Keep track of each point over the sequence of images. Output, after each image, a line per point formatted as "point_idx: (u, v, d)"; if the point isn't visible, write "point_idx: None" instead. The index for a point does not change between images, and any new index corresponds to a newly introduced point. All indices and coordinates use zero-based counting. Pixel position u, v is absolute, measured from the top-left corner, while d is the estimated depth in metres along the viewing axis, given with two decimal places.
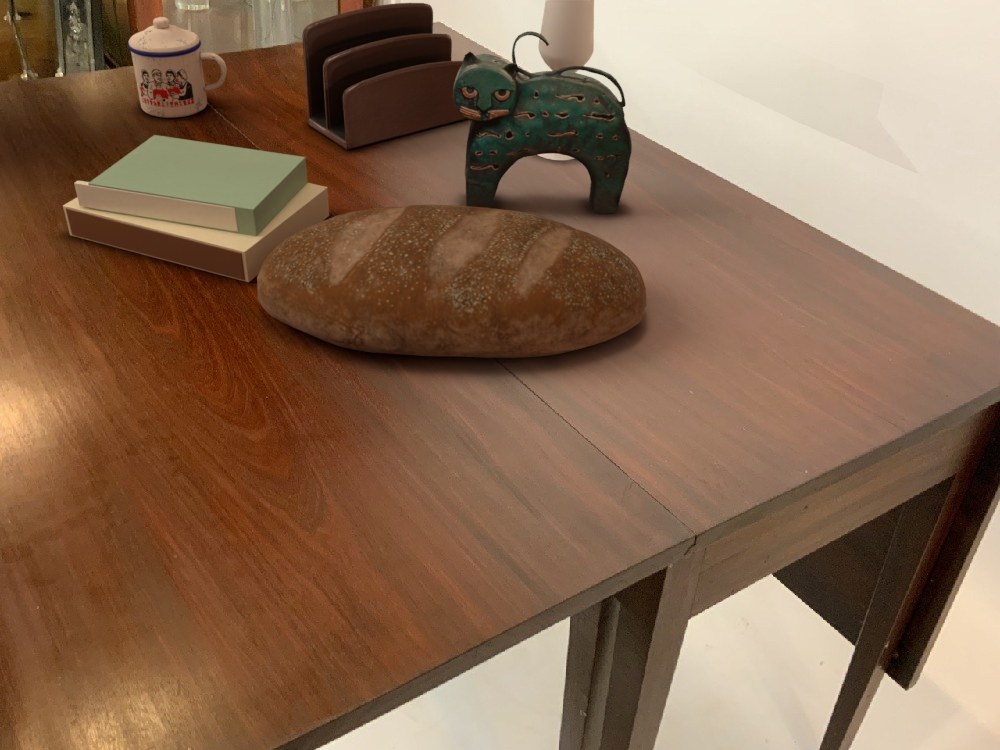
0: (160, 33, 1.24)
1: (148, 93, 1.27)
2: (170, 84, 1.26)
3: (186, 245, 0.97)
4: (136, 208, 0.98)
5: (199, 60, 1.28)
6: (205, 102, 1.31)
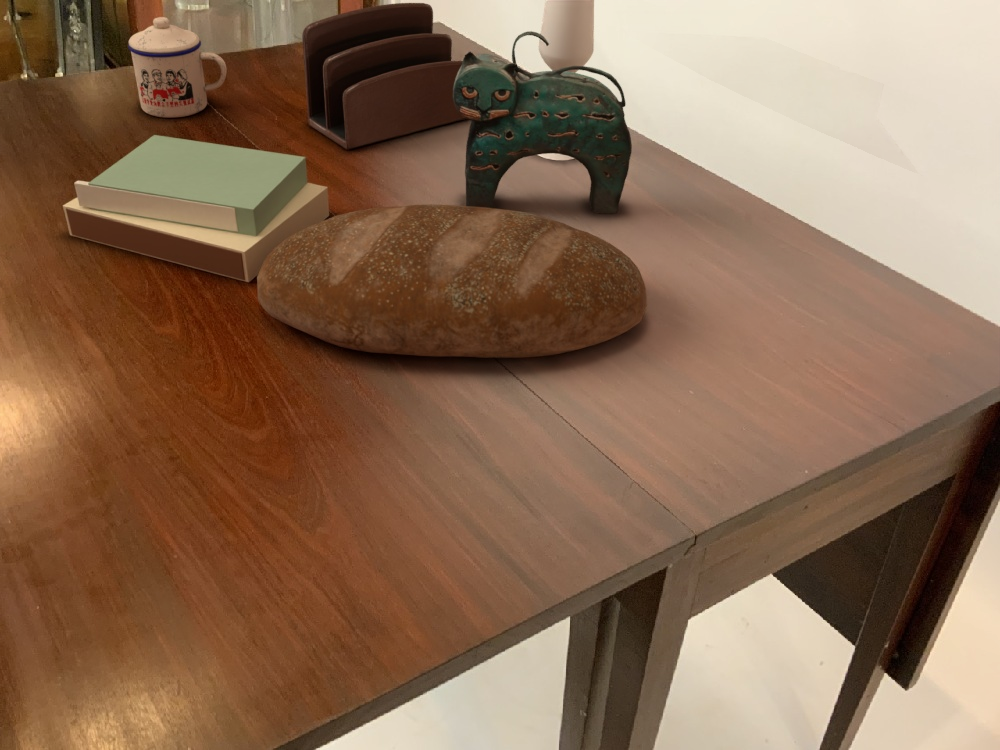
0: (160, 33, 1.24)
1: (148, 93, 1.27)
2: (170, 84, 1.26)
3: (186, 245, 0.97)
4: (136, 208, 0.98)
5: (199, 60, 1.28)
6: (205, 102, 1.31)
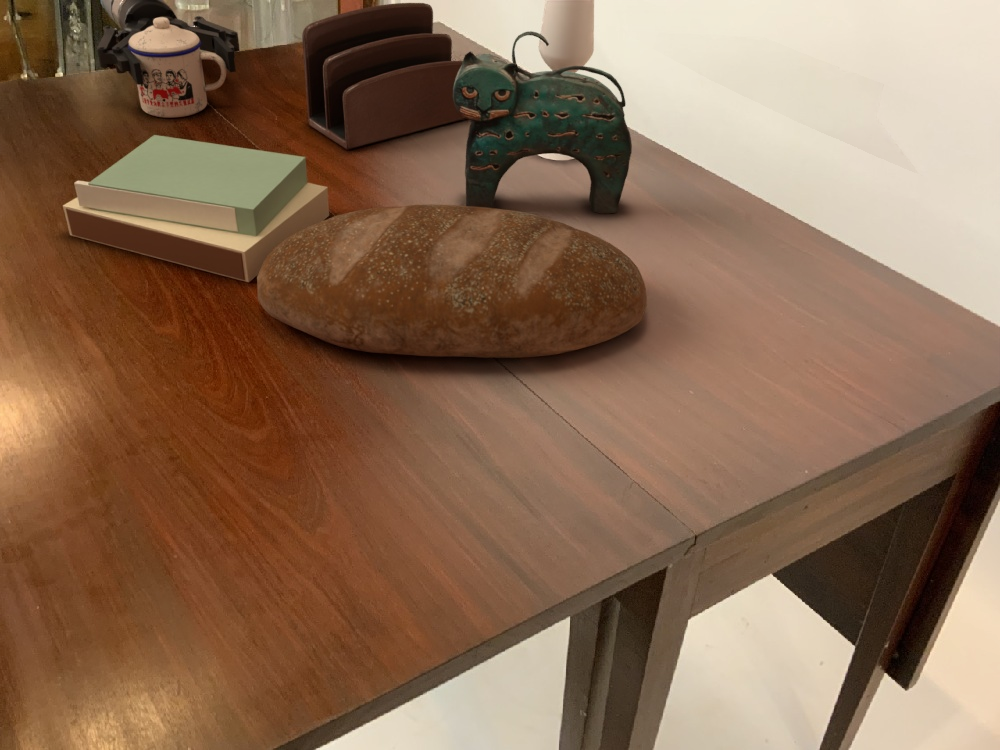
0: (160, 33, 1.24)
1: (148, 93, 1.27)
2: (170, 84, 1.26)
3: (186, 245, 0.97)
4: (136, 208, 0.98)
5: (199, 60, 1.28)
6: (205, 102, 1.31)
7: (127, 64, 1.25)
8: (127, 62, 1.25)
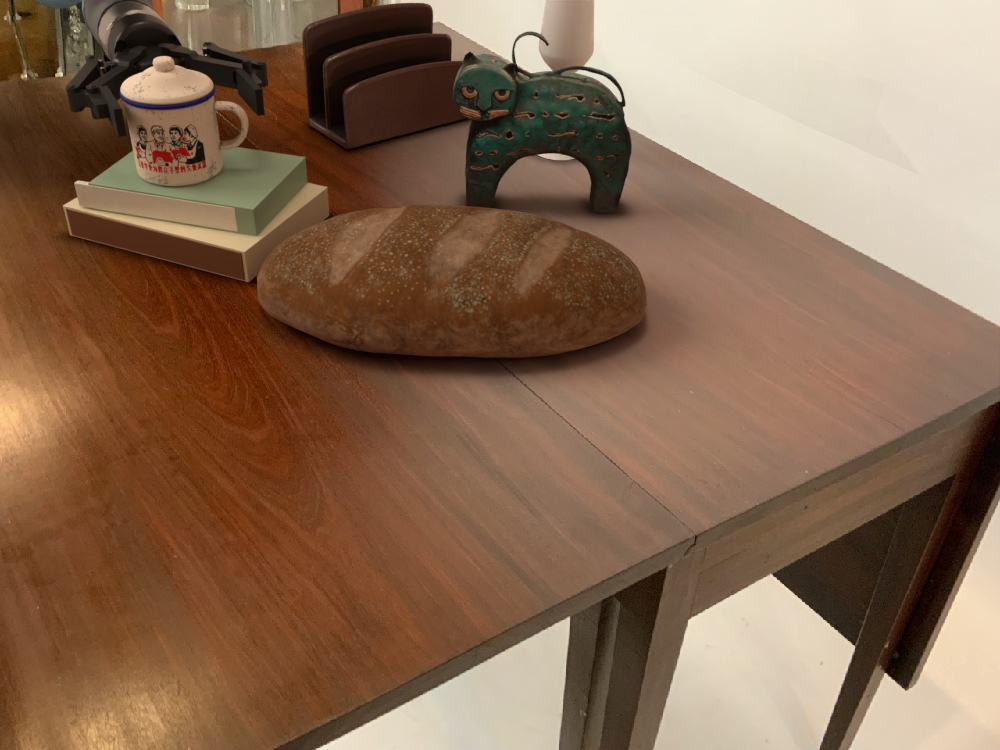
0: (162, 77, 0.94)
1: (146, 155, 0.97)
2: (175, 144, 0.95)
3: (186, 245, 0.97)
4: (136, 208, 0.98)
5: (213, 111, 0.97)
6: (221, 164, 1.01)
7: (105, 109, 0.94)
8: (105, 106, 0.94)
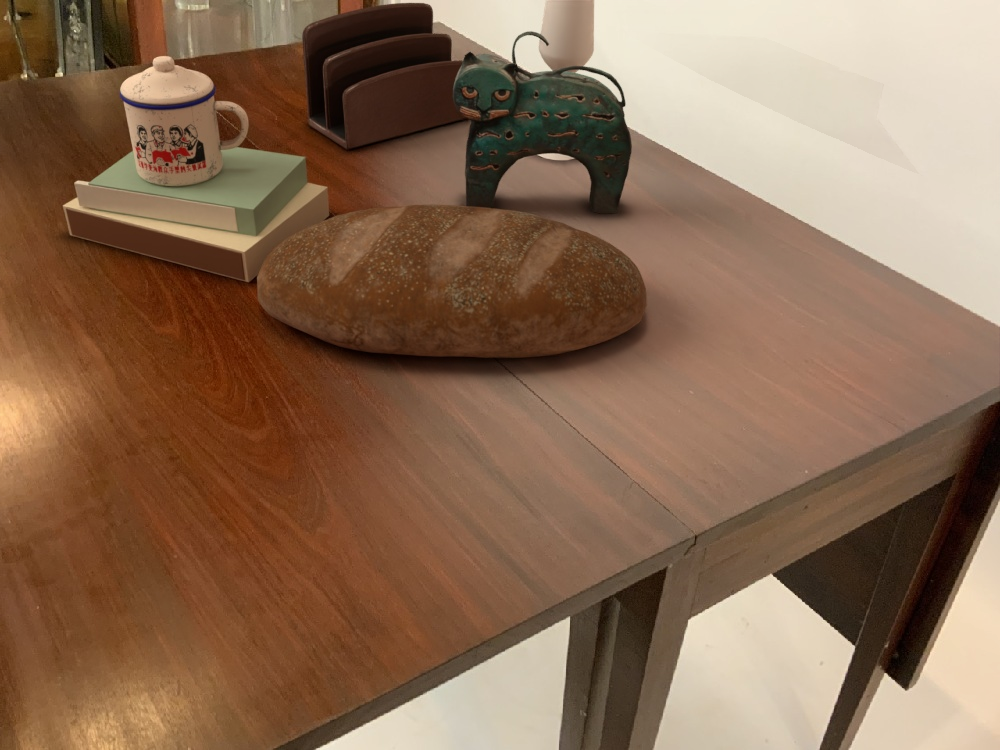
0: (162, 77, 0.94)
1: (146, 155, 0.97)
2: (175, 144, 0.95)
3: (186, 245, 0.97)
4: (136, 208, 0.98)
5: (213, 111, 0.97)
6: (221, 164, 1.01)
7: None
8: None
